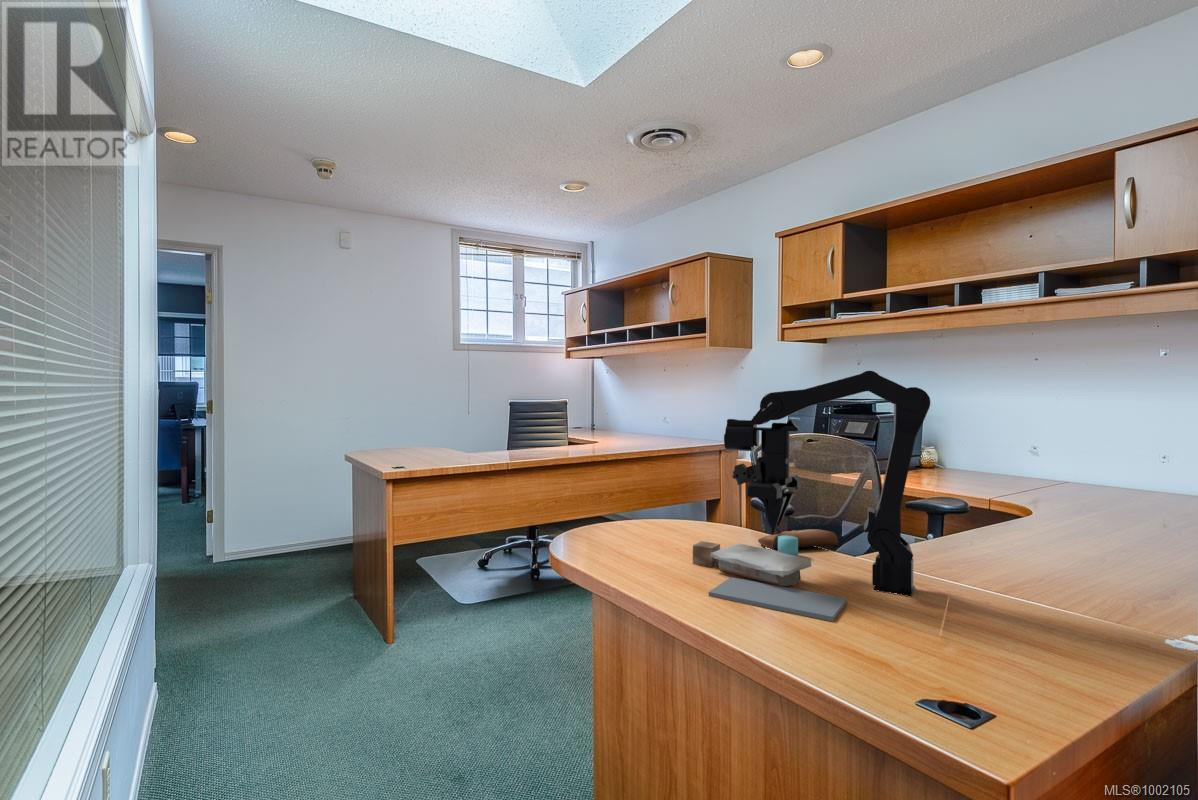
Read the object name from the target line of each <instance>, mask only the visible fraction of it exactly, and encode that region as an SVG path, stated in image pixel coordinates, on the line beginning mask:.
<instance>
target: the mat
mask: <svg viewBox="0 0 1198 800" xmlns="http://www.w3.org/2000/svg"><path fill="white" fill-rule="evenodd" d="M708 597H713V598H716V599H723V600H727V601H730V602H735V603H740V604H744V605H750V606H754V607H759V608H764V609H770V610H774V611H780V612H784V613H789V614H793V615H798V616H804V617H808V618H809V617H810V618H813V619H818V620H823V621H828V622H834V621H835V619H836V618H837V617H838V616H839V614H840V613H839V612H842V610H841V609H844V607H845V606H846V604H847V602H848V598H847V597H842V596H835V595H831V594H825V593H820V592H813V591H809V590H803V589H798V588H792V587H788V586H778V585H774V584H769V583H766V582H761V581H755V580H748V579H743V578H737V577H732V576H730V577H729V578H727V579H725V580H724V581H723V582H722V583H720V584H718V585H717V586H715V587H714V588H712V589H710V591H708ZM844 605H845V606H844Z"/></svg>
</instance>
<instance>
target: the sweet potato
mask: <svg viewBox="0 0 1198 800" xmlns="http://www.w3.org/2000/svg"><path fill="white" fill-rule="evenodd" d="M784 535H786V536H794V537H797V538H798V548H810V547H830V546H831V547H834V548H837V547H838V545H839V539H838V537H837V534H836V533H835V532H833V531H829V530H825V529H815V528H814V529H812V528H811V529H799V530H795V529H794V530H793V529H792V530H790V531H789V530H788V531H786V530H784V531H781V532H780V533H776V534H775V533H774V534H770V535H766V536H765V535H764V536H762V537H760V538H758V539H757V541H758V543H759V544H760V545H761V546H762V545H763V546H765V547H767V548H770V549H772V550H775V551H778V536H784ZM763 546H762V547H763Z"/></svg>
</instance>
